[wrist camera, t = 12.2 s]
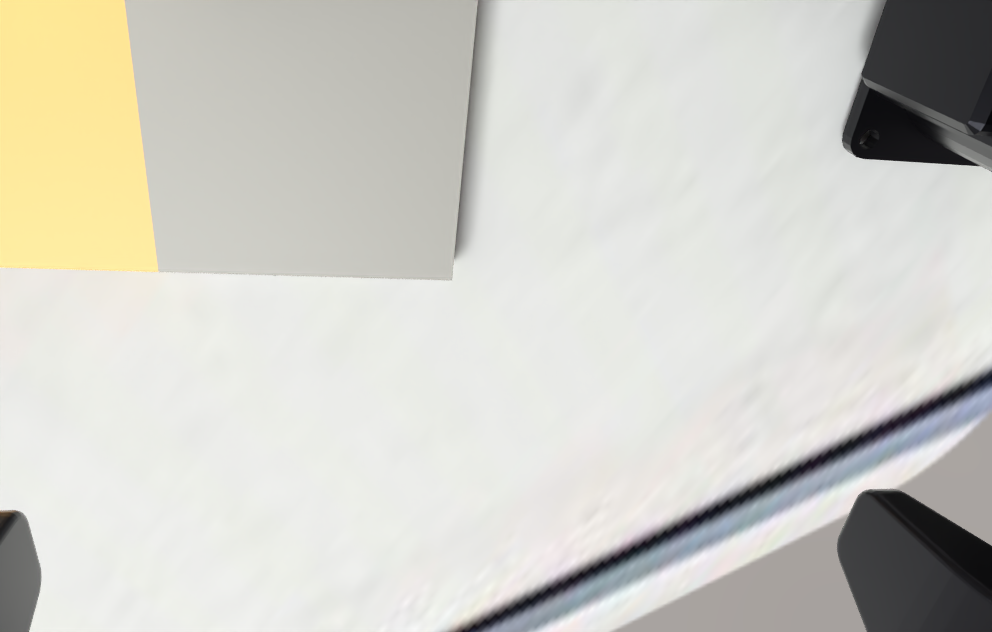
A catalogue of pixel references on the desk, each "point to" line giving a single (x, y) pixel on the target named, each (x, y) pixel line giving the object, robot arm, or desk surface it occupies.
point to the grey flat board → (234, 135)
